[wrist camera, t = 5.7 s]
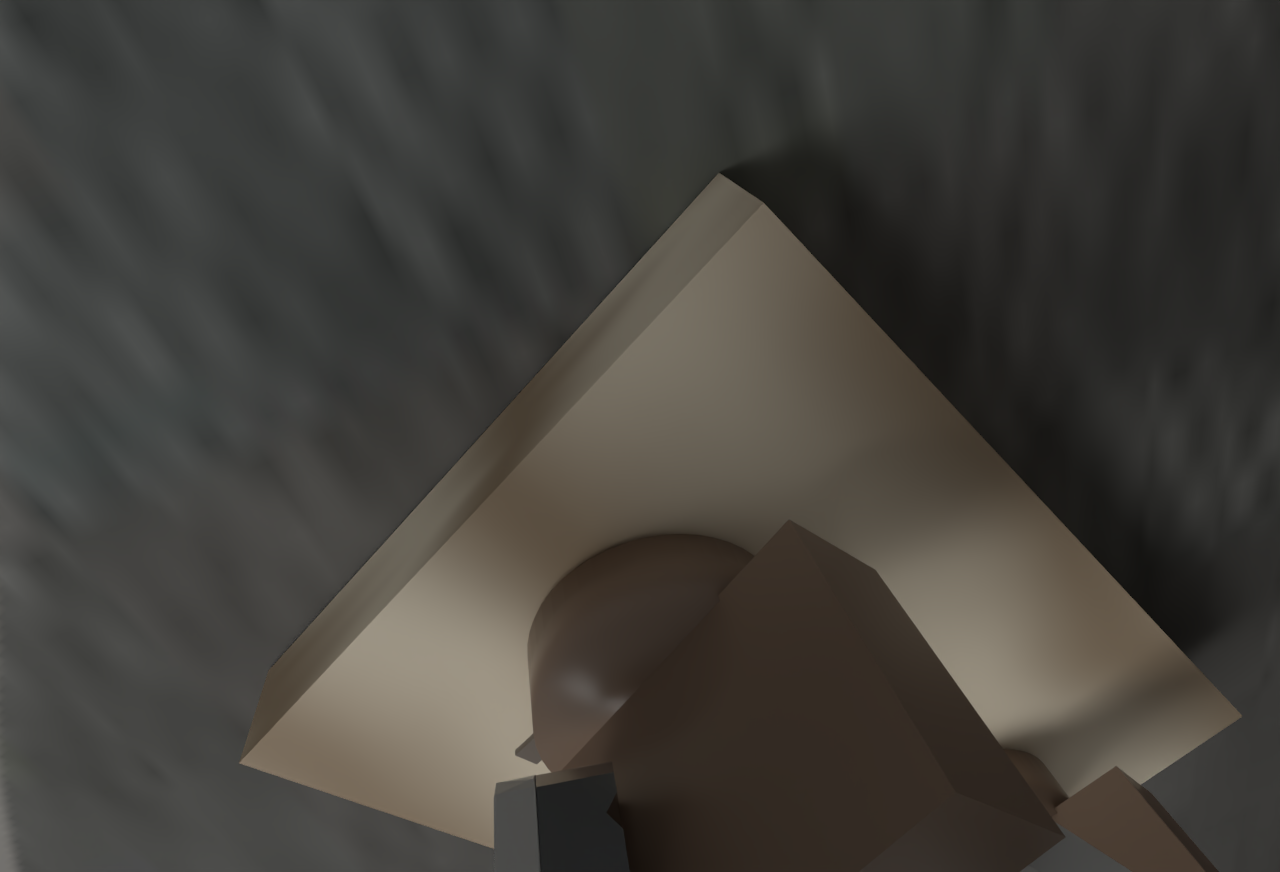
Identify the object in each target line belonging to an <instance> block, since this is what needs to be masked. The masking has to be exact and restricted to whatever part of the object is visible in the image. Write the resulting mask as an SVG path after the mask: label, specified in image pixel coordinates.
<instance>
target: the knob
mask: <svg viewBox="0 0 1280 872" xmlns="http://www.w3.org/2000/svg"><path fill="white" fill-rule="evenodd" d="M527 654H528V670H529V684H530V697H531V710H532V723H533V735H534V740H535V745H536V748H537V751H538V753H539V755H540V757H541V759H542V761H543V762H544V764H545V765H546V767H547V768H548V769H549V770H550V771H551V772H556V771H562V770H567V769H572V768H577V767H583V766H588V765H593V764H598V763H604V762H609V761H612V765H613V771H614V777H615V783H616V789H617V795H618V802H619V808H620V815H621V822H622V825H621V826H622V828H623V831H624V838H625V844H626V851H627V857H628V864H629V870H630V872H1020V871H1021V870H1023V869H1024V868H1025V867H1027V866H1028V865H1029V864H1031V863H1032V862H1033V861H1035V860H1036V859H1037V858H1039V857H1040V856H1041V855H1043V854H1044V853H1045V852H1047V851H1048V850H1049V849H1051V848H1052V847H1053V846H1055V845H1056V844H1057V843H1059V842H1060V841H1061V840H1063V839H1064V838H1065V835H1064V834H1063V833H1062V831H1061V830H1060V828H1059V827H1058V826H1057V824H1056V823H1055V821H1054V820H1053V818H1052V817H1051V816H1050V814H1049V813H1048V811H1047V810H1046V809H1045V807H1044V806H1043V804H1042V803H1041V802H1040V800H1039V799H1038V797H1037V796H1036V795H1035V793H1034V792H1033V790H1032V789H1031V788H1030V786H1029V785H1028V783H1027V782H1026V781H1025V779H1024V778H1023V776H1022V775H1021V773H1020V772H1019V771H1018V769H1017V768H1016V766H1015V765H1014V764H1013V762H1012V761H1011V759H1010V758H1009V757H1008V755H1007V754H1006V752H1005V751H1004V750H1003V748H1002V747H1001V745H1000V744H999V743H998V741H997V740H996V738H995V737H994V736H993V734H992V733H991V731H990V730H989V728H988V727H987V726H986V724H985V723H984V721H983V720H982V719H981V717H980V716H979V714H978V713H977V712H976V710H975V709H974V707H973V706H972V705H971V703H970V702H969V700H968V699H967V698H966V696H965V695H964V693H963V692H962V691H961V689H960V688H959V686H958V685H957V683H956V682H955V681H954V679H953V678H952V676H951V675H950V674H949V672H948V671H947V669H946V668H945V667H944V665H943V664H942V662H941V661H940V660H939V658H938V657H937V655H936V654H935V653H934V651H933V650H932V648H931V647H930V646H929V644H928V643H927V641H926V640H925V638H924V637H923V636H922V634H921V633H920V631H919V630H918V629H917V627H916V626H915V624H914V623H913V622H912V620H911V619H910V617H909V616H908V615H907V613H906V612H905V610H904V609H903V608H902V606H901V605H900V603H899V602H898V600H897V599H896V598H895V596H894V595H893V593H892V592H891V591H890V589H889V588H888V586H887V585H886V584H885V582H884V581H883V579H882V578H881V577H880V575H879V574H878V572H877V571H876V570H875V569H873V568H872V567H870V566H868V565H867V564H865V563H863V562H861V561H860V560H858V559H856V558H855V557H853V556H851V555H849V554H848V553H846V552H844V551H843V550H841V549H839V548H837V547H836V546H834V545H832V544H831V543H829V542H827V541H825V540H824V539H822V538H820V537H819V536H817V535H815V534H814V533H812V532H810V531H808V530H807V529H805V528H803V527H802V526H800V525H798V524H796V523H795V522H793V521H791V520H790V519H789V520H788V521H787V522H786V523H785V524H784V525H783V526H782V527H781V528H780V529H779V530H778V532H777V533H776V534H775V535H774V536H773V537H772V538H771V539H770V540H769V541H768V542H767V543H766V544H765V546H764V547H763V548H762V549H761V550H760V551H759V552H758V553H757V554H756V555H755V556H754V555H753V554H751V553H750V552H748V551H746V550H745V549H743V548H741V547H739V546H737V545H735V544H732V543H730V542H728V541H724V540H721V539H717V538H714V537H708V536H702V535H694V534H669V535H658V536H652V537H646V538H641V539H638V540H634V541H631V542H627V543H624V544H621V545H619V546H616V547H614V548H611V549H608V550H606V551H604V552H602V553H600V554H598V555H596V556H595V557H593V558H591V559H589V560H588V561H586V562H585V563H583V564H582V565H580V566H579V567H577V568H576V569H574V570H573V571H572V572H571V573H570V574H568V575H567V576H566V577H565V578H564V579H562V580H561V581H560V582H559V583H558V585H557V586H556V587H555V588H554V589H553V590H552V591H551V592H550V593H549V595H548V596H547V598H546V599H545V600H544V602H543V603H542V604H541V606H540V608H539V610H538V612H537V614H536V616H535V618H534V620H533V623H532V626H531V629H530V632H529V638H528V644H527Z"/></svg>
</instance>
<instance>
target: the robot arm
mask: <svg viewBox="0 0 1280 872" xmlns="http://www.w3.org/2000/svg"><path fill="white" fill-rule="evenodd" d="M1055 823H1056V822H1055ZM1056 824H1057V826H1058V827H1059V828H1060V830H1061V831H1062V833H1063V834H1064V835H1065V838H1064V839H1063V840H1061V841H1060V842H1059V843H1057V844H1056V845H1055V846H1053V847H1052V848H1051V849H1049V850H1048V851H1047V852H1045V853H1044V854H1043V855H1041V856H1040V857H1039V858H1037V859H1036V860H1035V861H1033V862H1032V863H1031V864H1029V865H1028V866H1027V867H1025V868H1024V869H1023V870H1021V871H1020V872H1132V871H1130V870H1129V869H1127V868H1126V867H1124V866H1123V865H1121V864H1119V863H1118V862H1116V861H1115V860H1113V859H1112V858H1110V857H1109V856H1107V855H1106V854H1104V853H1102V852H1101V851H1099V850H1098V849H1096V848H1095V847H1093V846H1092V845H1090V844H1089V843H1087V842H1085V841H1084V840H1082V839H1081V838H1079V837H1078V836H1076V835H1075V834H1073V833H1072V832H1070V831H1068V830H1067V829H1065V828H1064V827H1062V826H1061V825H1059V824H1058V823H1056ZM621 825H622V822H621V815H620V808H619V802H618V795H617V789H616V783H615V777H614V771H613V765H612V761H609V762H604V763H598V764H593V765H588V766H583V767H577V768H572V769H567V770H562V771H556V772H551V773H546V774H540V775H532V776H528V777H523V778H518V779H513V780H508V781H503V782H498V783H496V787H495V793H494V872H630V870H629V864H628V857H627V851H626V844H625V838H624V831H623V828H622V826H621Z"/></svg>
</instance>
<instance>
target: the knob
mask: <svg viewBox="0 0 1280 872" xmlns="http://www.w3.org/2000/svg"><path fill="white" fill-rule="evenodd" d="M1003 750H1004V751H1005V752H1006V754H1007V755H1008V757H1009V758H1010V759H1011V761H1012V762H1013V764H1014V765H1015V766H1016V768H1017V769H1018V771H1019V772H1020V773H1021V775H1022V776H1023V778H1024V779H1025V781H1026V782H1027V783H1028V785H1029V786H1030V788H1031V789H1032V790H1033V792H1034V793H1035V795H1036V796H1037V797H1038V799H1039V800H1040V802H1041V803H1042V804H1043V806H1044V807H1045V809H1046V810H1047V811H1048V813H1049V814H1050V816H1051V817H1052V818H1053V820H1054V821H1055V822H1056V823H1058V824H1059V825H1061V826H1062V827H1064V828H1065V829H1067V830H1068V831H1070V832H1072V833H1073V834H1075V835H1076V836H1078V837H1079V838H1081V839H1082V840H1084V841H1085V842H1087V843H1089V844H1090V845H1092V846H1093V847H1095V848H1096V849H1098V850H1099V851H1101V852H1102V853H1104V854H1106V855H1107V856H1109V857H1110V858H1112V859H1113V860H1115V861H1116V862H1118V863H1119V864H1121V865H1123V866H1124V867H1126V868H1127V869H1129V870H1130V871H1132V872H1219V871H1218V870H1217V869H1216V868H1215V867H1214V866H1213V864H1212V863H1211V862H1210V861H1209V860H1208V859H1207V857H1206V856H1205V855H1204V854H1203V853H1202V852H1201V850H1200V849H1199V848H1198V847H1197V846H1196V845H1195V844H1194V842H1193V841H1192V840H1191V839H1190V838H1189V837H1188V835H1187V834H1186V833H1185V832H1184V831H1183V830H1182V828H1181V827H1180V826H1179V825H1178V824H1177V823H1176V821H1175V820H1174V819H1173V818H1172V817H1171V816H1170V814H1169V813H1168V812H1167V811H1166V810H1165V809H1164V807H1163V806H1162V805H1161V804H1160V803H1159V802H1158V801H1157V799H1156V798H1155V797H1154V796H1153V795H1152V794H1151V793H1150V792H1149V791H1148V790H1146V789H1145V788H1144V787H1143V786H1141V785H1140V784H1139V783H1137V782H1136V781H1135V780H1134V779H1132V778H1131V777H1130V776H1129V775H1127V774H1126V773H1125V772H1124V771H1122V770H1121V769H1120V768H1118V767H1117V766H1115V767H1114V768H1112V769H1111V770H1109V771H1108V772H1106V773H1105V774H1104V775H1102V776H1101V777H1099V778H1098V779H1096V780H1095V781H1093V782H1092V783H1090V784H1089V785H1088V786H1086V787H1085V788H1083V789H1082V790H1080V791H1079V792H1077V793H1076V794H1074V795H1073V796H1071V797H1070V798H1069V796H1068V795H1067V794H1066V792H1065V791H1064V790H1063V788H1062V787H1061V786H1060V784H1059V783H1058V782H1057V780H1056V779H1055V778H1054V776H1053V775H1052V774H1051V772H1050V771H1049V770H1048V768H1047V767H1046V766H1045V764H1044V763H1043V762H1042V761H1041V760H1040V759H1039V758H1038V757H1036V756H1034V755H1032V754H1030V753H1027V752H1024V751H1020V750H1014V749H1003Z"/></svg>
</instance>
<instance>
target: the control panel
mask: <svg viewBox="0 0 1280 872" xmlns="http://www.w3.org/2000/svg"><path fill="white" fill-rule="evenodd" d="M789 519H790V520H791V521H793V522H795V523H796V524H798V525H800V526H802V527H803V528H805V529H807V530H808V531H810V532H812V533H814V534H815V535H817V536H819V537H820V538H822V539H824V540H825V541H827V542H829V543H831V544H832V545H834V546H836V547H837V548H839V549H841V550H843V551H844V552H846V553H848V554H849V555H851V556H853V557H855V558H856V559H858V560H860V561H861V562H863V563H865V564H867V565H868V566H870V567H872V568H873V569H875V570H876V571H877V572H878V574H879V575H880V577H881V578H882V579H883V581H884V582H885V584H886V585H887V586H888V588H889V589H890V591H891V592H892V593H893V595H894V596H895V598H896V599H897V600H898V602H899V603H900V605H901V606H902V608H903V609H904V610H905V612H906V613H907V615H908V616H909V617H910V619H911V620H912V622H913V623H914V624H915V626H916V627H917V629H918V630H919V631H920V633H921V634H922V636H923V637H924V638H925V640H926V641H927V643H928V644H929V646H930V647H931V648H932V650H933V651H934V653H935V654H936V655H937V657H938V658H939V660H940V661H941V662H942V664H943V665H944V667H945V668H946V669H947V671H948V672H949V674H950V675H951V676H952V678H953V679H954V681H955V682H956V683H957V685H958V686H959V688H960V689H961V691H962V692H963V693H964V695H965V696H966V698H967V699H968V700H969V702H970V703H971V705H972V706H973V707H974V709H975V710H976V712H977V713H978V714H979V716H980V717H981V719H982V720H983V721H984V723H985V724H986V726H987V727H988V728H989V730H990V731H991V733H992V734H993V736H994V737H995V738H996V740H997V741H998V743H999V744H1000V745H1001V747H1002V748H1003V749H1014V750H1020V751H1024V752H1027V753H1030V754H1032V755H1034V756H1036V757H1038V758H1039V759H1040V760H1041V761H1042V762H1043V763H1044V764H1045V766H1046V767H1047V768H1048V770H1049V771H1050V772H1051V774H1052V775H1053V776H1054V778H1055V779H1056V780H1057V782H1058V783H1059V784H1060V786H1061V787H1062V788H1063V790H1064V791H1065V792H1066V794H1067V795H1068V796H1069V798H1070V797H1071V796H1073V795H1074V794H1076V793H1077V792H1079V791H1080V790H1082V789H1083V788H1085V787H1086V786H1088V785H1089V784H1090V783H1092V782H1093V781H1095V780H1096V779H1098V778H1099V777H1101V776H1102V775H1104V774H1105V773H1106V772H1108V771H1109V770H1111V769H1112V768H1114V767H1115V766H1117V767H1118V768H1120V769H1121V770H1122V771H1124V772H1125V773H1126V774H1127V775H1129V776H1130V777H1131V778H1132V779H1134V780H1135V781H1136V782H1137V783H1139V784H1140V785H1141V784H1142V783H1144V782H1145V781H1147V780H1148V779H1150V778H1151V777H1153V776H1154V775H1156V774H1157V773H1159V772H1160V771H1162V770H1163V769H1165V768H1166V767H1168V766H1169V765H1171V764H1172V763H1174V762H1175V761H1177V760H1178V759H1180V758H1181V757H1183V756H1184V755H1185V754H1187V753H1188V752H1190V751H1191V750H1193V749H1194V748H1196V747H1197V746H1199V745H1200V744H1202V743H1203V742H1205V741H1206V740H1208V739H1209V738H1211V737H1212V736H1214V735H1215V734H1217V733H1218V732H1220V731H1221V730H1223V729H1224V728H1226V727H1227V726H1229V725H1230V724H1232V723H1233V722H1235V721H1236V720H1238V719H1239V718H1241V717H1242V715H1241V714H1240V713H1239V712H1238V711H1237V710H1236V709H1235V708H1234V707H1233V705H1232V704H1231V703H1230V702H1229V701H1228V700H1227V699H1226V698H1225V697H1224V696H1223V695H1222V694H1221V693H1220V692H1219V690H1218V689H1217V688H1216V687H1215V686H1214V685H1213V684H1212V683H1211V682H1210V681H1209V680H1208V679H1207V678H1206V677H1205V675H1204V674H1203V673H1202V672H1201V671H1200V670H1199V669H1198V668H1197V667H1196V666H1195V665H1194V664H1193V663H1192V662H1191V660H1190V659H1189V658H1188V657H1187V656H1186V655H1185V654H1184V653H1183V652H1182V651H1181V650H1180V649H1179V648H1178V646H1177V645H1176V644H1175V643H1174V642H1173V641H1172V640H1171V639H1170V638H1169V637H1168V636H1167V635H1166V634H1165V633H1164V631H1163V630H1162V629H1161V628H1160V627H1159V626H1158V625H1157V624H1156V623H1155V622H1154V621H1153V620H1152V619H1151V618H1150V616H1149V615H1148V614H1147V613H1146V612H1145V611H1144V610H1143V609H1142V608H1141V607H1140V606H1139V605H1138V604H1137V603H1136V601H1135V600H1134V599H1133V598H1132V597H1131V596H1130V595H1129V594H1128V593H1127V592H1126V591H1125V590H1124V589H1123V588H1122V586H1121V585H1120V584H1119V583H1118V582H1117V581H1116V580H1115V579H1114V578H1113V577H1112V576H1111V575H1110V574H1109V572H1108V571H1107V570H1106V569H1105V568H1104V567H1103V566H1102V565H1101V564H1100V563H1099V562H1098V561H1097V560H1096V559H1095V557H1094V556H1093V555H1092V554H1091V553H1090V552H1089V551H1088V550H1087V549H1086V548H1085V547H1084V546H1083V545H1082V544H1081V542H1080V541H1079V540H1078V539H1077V538H1076V537H1075V536H1074V535H1073V534H1072V533H1071V532H1070V531H1069V530H1068V529H1067V527H1066V526H1065V525H1064V524H1063V523H1062V522H1061V521H1060V520H1059V519H1058V518H1057V517H1056V516H1055V515H1054V513H1053V512H1052V511H1051V510H1050V509H1049V508H1048V507H1047V506H1046V505H1045V504H1044V503H1043V502H1042V501H1041V500H1040V498H1039V497H1038V496H1037V495H1036V494H1035V493H1034V492H1033V491H1032V490H1031V489H1030V488H1029V487H1028V486H1027V485H1026V483H1025V482H1024V481H1023V480H1022V479H1021V478H1020V477H1019V476H1018V475H1017V474H1016V473H1015V472H1014V471H1013V470H1012V468H1011V467H1010V466H1009V465H1008V464H1007V463H1006V462H1005V461H1004V460H1003V459H1002V458H1001V457H1000V456H999V454H998V453H997V452H996V451H995V450H994V449H993V448H992V447H991V446H990V445H989V444H988V443H987V442H986V441H985V439H984V438H983V437H982V436H981V435H980V434H979V433H978V432H977V431H976V430H975V429H974V428H973V427H972V426H971V424H970V423H969V422H968V421H967V420H966V419H965V418H964V417H963V416H962V415H961V414H960V413H959V412H958V411H957V409H956V408H955V407H954V406H953V405H952V404H951V403H950V402H949V401H948V400H947V399H946V398H945V397H944V396H943V394H942V393H941V392H940V391H939V390H938V389H937V388H936V387H935V386H934V385H933V384H932V383H931V382H930V380H929V379H928V378H927V377H926V376H925V375H924V374H923V373H922V372H921V371H920V370H919V369H918V368H917V367H916V365H915V364H914V363H913V362H912V361H911V360H910V359H909V358H908V357H907V356H906V355H905V354H904V353H903V352H902V350H901V349H900V348H899V347H898V346H897V345H896V344H895V343H894V342H893V341H892V340H891V339H890V338H889V337H888V335H887V334H886V333H885V332H884V331H883V330H882V329H881V328H880V327H879V326H878V325H877V324H876V323H875V321H874V320H873V319H872V318H871V317H870V316H869V315H868V314H867V313H866V312H865V311H864V310H863V309H862V308H861V306H860V305H859V304H858V303H857V302H856V301H855V300H854V299H853V298H852V297H851V296H850V295H849V294H848V293H847V291H846V290H845V289H844V288H843V287H842V286H841V285H840V284H839V283H838V282H837V281H836V280H835V279H834V278H833V276H832V275H831V274H830V273H829V272H828V271H827V270H826V269H825V268H824V267H823V266H822V265H821V264H820V262H819V261H818V260H817V259H816V258H815V257H814V256H813V255H812V254H811V253H810V252H809V251H808V250H807V249H806V247H805V246H804V245H803V244H802V243H801V242H800V241H799V240H798V239H797V238H796V237H795V236H794V235H793V234H792V232H791V231H790V230H789V229H788V228H787V227H786V226H785V225H784V224H783V223H782V222H781V221H780V220H779V219H778V217H777V216H776V215H775V214H774V213H773V212H772V211H771V210H770V209H769V208H768V207H767V206H766V205H765V204H764V203H763V202H762V201H760V200H759V199H757V198H756V197H754V196H753V195H751V194H750V193H748V192H747V191H745V190H744V189H742V188H741V187H740V186H738V185H737V184H735V183H734V182H732V181H731V180H729V179H728V178H726V177H725V176H723V175H722V174H720V173H718V174H717V175H716V177H715V178H714V179H713V180H712V181H711V182H710V183H709V184H708V185H707V186H706V188H705V189H704V190H703V191H702V192H701V193H700V194H699V195H698V196H697V198H696V199H695V200H694V201H693V202H692V203H691V204H690V205H689V206H688V207H687V209H686V210H685V211H684V212H683V213H682V214H681V215H680V216H679V217H678V219H677V220H676V221H675V222H674V223H673V224H672V225H671V226H670V227H669V228H668V230H667V231H666V232H665V233H664V234H663V235H662V236H661V237H660V238H659V240H658V241H657V242H656V243H655V244H654V245H653V246H652V247H651V248H650V249H649V251H648V252H647V253H646V254H645V255H644V256H643V257H642V258H641V259H640V261H639V262H638V263H637V264H636V265H635V266H634V267H633V268H632V269H631V270H630V272H629V273H628V274H627V275H626V276H625V277H624V278H623V279H622V280H621V282H620V283H619V284H618V285H617V286H616V287H615V288H614V289H613V290H612V291H611V293H610V294H609V295H608V296H607V297H606V298H605V299H604V300H603V301H602V303H601V304H600V305H599V306H598V307H597V308H596V309H595V310H594V311H593V312H592V314H591V315H590V316H589V317H588V318H587V319H586V320H585V321H584V322H583V324H582V325H581V326H580V327H579V328H578V329H577V330H576V331H575V332H574V333H573V335H572V336H571V337H570V338H569V339H568V340H567V341H566V342H565V343H564V345H563V346H562V347H561V348H560V349H559V350H558V351H557V352H556V353H555V355H554V356H553V357H552V358H551V359H550V360H549V361H548V362H547V363H546V364H545V366H544V367H543V368H542V369H541V370H540V371H539V372H538V373H537V374H536V376H535V377H534V378H533V379H532V380H531V381H530V382H529V383H528V384H527V385H526V387H525V388H524V389H523V390H522V391H521V392H520V393H519V394H518V395H517V397H516V398H515V399H514V400H513V401H512V402H511V403H510V404H509V405H508V406H507V408H506V409H505V410H504V411H503V412H502V413H501V414H500V415H499V416H498V418H497V419H496V420H495V421H494V422H493V423H492V424H491V425H490V426H489V427H488V429H487V430H486V431H485V432H484V433H483V434H482V435H481V436H480V437H479V439H478V440H477V441H476V442H475V443H474V444H473V445H472V446H471V447H470V448H469V450H468V451H467V452H466V453H465V454H464V455H463V456H462V457H461V458H460V460H459V461H458V462H457V463H456V464H455V465H454V466H453V467H452V468H451V469H450V471H449V472H448V473H447V474H446V475H445V476H444V477H443V478H442V479H441V481H440V482H439V483H438V484H437V485H436V486H435V487H434V488H433V489H432V490H431V492H430V493H429V494H428V495H427V496H426V497H425V498H424V499H423V500H422V502H421V503H420V504H419V505H418V506H417V507H416V508H415V509H414V510H413V511H412V513H411V514H410V515H409V516H408V517H407V518H406V519H405V520H404V521H403V523H402V524H401V525H400V526H399V527H398V528H397V529H396V530H395V531H394V532H393V534H392V535H391V536H390V537H389V538H388V539H387V540H386V541H385V542H384V544H383V545H382V546H381V547H380V548H379V549H378V550H377V551H376V552H375V553H374V555H373V556H372V557H371V558H370V559H369V560H368V561H367V562H366V563H365V565H364V566H363V567H362V568H361V569H360V570H359V571H358V572H357V573H356V574H355V576H354V577H353V578H352V579H351V580H350V581H349V582H348V583H347V584H346V586H345V587H344V588H343V589H342V590H341V591H340V592H339V593H338V594H337V595H336V597H335V598H334V599H333V600H332V601H331V602H330V603H329V604H328V605H327V607H326V608H325V609H324V610H323V611H322V612H321V613H320V614H319V615H318V616H317V618H316V619H315V620H314V621H313V622H312V623H311V624H310V625H309V626H308V628H307V629H306V630H305V631H304V632H303V633H302V634H301V635H300V636H299V638H298V639H297V640H296V641H295V642H294V643H293V644H292V645H291V646H290V647H289V649H288V650H287V651H286V652H285V653H284V654H283V655H282V656H281V657H280V659H279V660H278V661H277V662H276V663H275V664H274V665H273V666H272V667H271V668H270V670H269V671H268V674H267V677H266V680H265V684H264V687H263V690H262V693H261V696H260V699H259V702H258V706H257V709H256V712H255V715H254V718H253V721H252V724H251V727H250V731H249V734H248V737H247V740H246V743H245V746H244V749H243V752H242V756H241V759H240V762H239V763H240V764H243V765H246V766H249V767H252V768H255V769H258V770H261V771H264V772H267V773H270V774H273V775H276V776H279V777H282V778H285V779H288V780H291V781H294V782H297V783H300V784H303V785H306V786H309V787H312V788H315V789H318V790H321V791H324V792H327V793H329V794H332V795H335V796H338V797H341V798H344V799H347V800H350V801H353V802H356V803H359V804H362V805H365V806H368V807H371V808H374V809H377V810H380V811H383V812H386V813H389V814H392V815H395V816H398V817H401V818H404V819H407V820H410V821H413V822H416V823H419V824H422V825H425V826H428V827H431V828H434V829H437V830H440V831H443V832H446V833H449V834H452V835H454V836H457V837H460V838H463V839H466V840H469V841H472V842H475V843H478V844H481V845H484V846H487V847H490V848H493V849H494V793H495V787H496V783H498V782H503V781H508V780H513V779H518V778H523V777H528V776H532V775H540V774H546V773H551V771H550V770H549V769H548V768H547V767H546V765H545V764H544V762H543V761H542V759H541V757H540V755H539V753H538V751H537V748H536V745H535V740H534V735H533V723H532V710H531V697H530V684H529V670H528V654H527V644H528V638H529V632H530V629H531V626H532V623H533V620H534V618H535V616H536V614H537V612H538V610H539V608H540V606H541V604H542V603H543V602H544V600H545V599H546V598H547V596H548V595H549V593H550V592H551V591H552V590H553V589H554V588H555V587H556V586H557V585H558V583H559V582H560V581H561V580H562V579H564V578H565V577H566V576H567V575H568V574H570V573H571V572H572V571H573V570H574V569H576V568H577V567H579V566H580V565H582V564H583V563H585V562H586V561H588V560H589V559H591V558H593V557H595V556H596V555H598V554H600V553H602V552H604V551H606V550H608V549H611V548H614V547H616V546H619V545H621V544H624V543H627V542H631V541H634V540H638V539H641V538H646V537H652V536H658V535H669V534H694V535H702V536H708V537H714V538H717V539H721V540H724V541H728V542H730V543H732V544H735V545H737V546H739V547H741V548H743V549H745V550H746V551H748V552H750V553H751V554H753V555H754V556H755V555H756V554H757V553H758V552H759V551H760V550H761V549H762V548H763V547H764V546H765V544H766V543H767V542H768V541H769V540H770V539H771V538H772V537H773V536H774V535H775V534H776V533H777V532H778V530H779V529H780V528H781V527H782V526H783V525H784V524H785V523H786V522H787V521H788V520H789Z"/></svg>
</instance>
